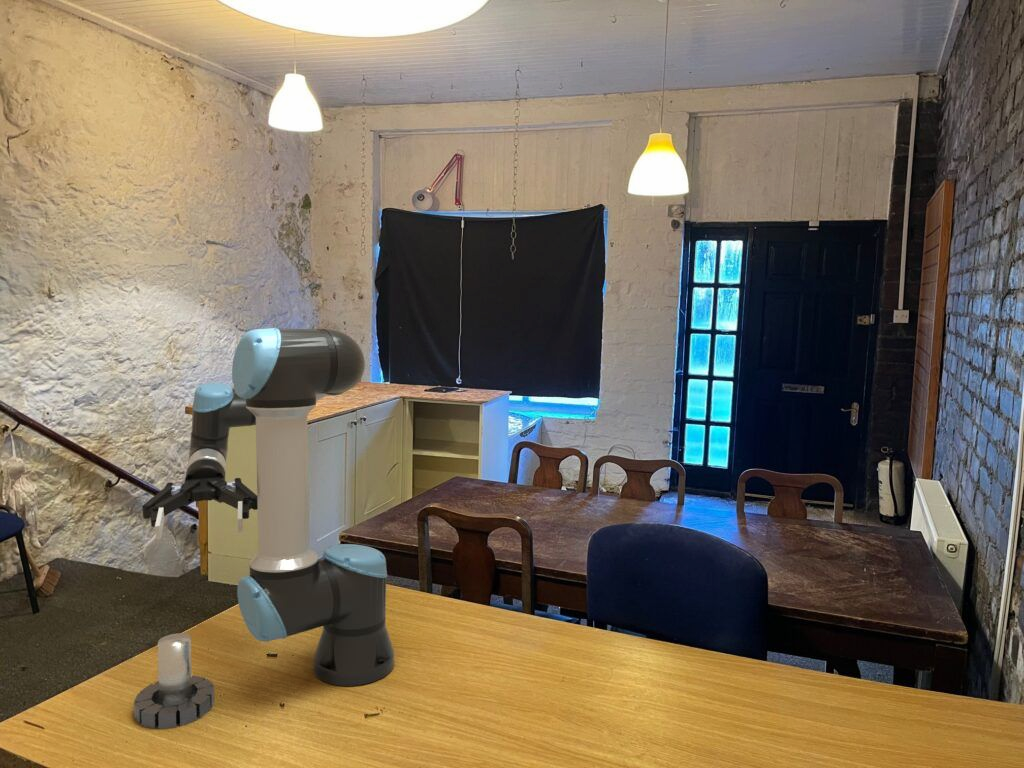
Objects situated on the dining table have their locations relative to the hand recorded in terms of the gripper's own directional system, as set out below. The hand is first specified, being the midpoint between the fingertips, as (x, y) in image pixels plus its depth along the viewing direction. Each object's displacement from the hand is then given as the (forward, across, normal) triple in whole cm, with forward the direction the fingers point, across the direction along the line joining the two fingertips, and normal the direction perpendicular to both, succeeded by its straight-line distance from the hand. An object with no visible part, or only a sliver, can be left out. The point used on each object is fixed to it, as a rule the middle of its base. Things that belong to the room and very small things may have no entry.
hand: (199, 529), depth 128 cm
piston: (+16, +4, -24) cm, 30 cm away
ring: (+16, +4, -24) cm, 30 cm away
